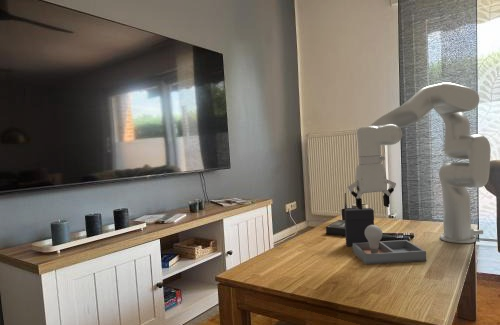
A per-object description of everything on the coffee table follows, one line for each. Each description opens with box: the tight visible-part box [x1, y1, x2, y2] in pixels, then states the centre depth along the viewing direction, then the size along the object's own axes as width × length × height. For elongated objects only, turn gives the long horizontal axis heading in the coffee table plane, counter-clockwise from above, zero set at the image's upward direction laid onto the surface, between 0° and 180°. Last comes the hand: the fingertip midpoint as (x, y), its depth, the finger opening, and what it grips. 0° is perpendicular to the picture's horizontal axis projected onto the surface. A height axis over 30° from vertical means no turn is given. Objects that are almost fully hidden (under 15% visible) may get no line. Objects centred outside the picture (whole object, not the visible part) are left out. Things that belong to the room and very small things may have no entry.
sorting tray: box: [352, 239, 427, 266], centre depth 122 cm, size 21×14×4 cm, turn 90°
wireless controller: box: [325, 192, 348, 238], centre depth 161 cm, size 20×14×17 cm
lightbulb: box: [365, 224, 384, 253], centre depth 122 cm, size 6×6×11 cm
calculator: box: [343, 207, 375, 248], centre depth 137 cm, size 11×4×15 cm, turn 84°
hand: (373, 207), depth 122 cm, fingers open, 9 cm apart
